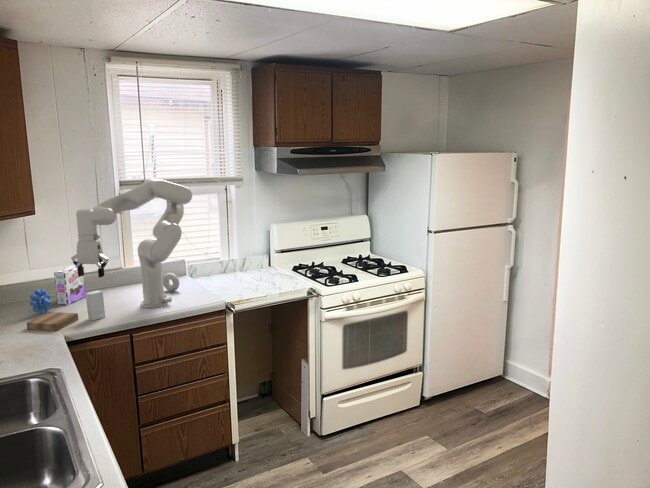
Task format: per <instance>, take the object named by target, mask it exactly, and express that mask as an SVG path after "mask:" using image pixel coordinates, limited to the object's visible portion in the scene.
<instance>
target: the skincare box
mask: <svg viewBox="0 0 650 488" xmlns="http://www.w3.org/2000/svg"><path fill="white" fill-rule="evenodd" d="M85 295H86V297H85V301H86V308H87V317H88V320H90V321H97V320H100V319H103V318H105V317H106V311H105V302H104V292H103V291H101V290H93V291H90V292H85Z"/></svg>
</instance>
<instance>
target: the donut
mask: <svg viewBox="0 0 650 488" xmlns="http://www.w3.org/2000/svg"><path fill="white" fill-rule="evenodd" d="M170 281H171V282H172V284H171V283H170ZM163 287H164V289H166V290H167V291H169V292H176V291H177V290H178V289H179V287H180V279H179V277H178V275H176V273H173V272H168V273H165V274H164V275H163Z"/></svg>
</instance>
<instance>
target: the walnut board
mask: <svg viewBox="0 0 650 488" xmlns="http://www.w3.org/2000/svg"><path fill="white" fill-rule="evenodd" d="M77 321H79V314H78V312H76V313H75V312H56V311H55V312H54V311H47V312H46V313H43V315H42V314H41V315H40V316H37V317H35V318H33V319H31V320H29V321H27V322H26V329H27V330H30V331H45V330H51V331H50V332H58V331H60V330H62V329H63V328H65V326H66V327H68V326H70V325H72V324H73V323H75V322H77ZM61 328H62V329H61Z"/></svg>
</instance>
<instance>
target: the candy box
mask: <svg viewBox="0 0 650 488" xmlns="http://www.w3.org/2000/svg"><path fill="white" fill-rule="evenodd" d="M53 275H54V284H55V291H56V294H55V295H56V303H57V305H59V306H60V305H62V306H68V305H71V304H74V303H76V302H78V301H80V300H82V299H85V298H86V287H85V280H84V275H83V276H80V277H79V276H78V270H77V268H76V265H71V266H68V267H65V268H63V269H60V270H57V271H54V272H53Z"/></svg>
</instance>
